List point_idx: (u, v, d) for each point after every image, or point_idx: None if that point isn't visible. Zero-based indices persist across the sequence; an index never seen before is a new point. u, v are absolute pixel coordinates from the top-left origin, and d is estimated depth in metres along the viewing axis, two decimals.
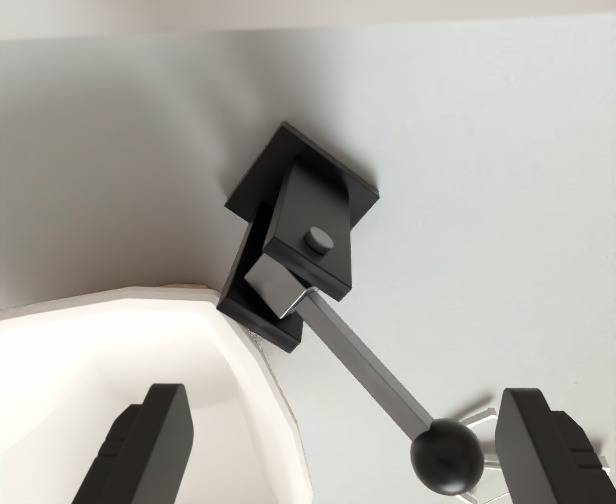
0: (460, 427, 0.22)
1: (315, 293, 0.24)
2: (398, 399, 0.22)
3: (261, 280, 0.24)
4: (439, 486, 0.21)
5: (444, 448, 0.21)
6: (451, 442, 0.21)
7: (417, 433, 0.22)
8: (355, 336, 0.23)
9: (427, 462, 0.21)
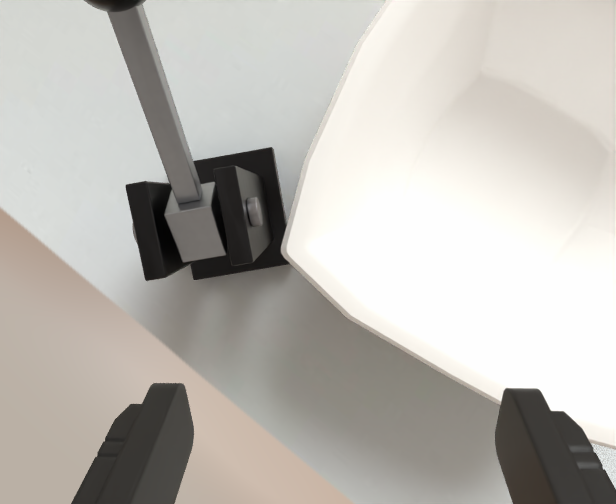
0: None
1: None
2: (128, 62, 0.19)
3: (207, 244, 0.23)
4: None
5: None
6: None
7: (124, 13, 0.18)
8: None
9: None
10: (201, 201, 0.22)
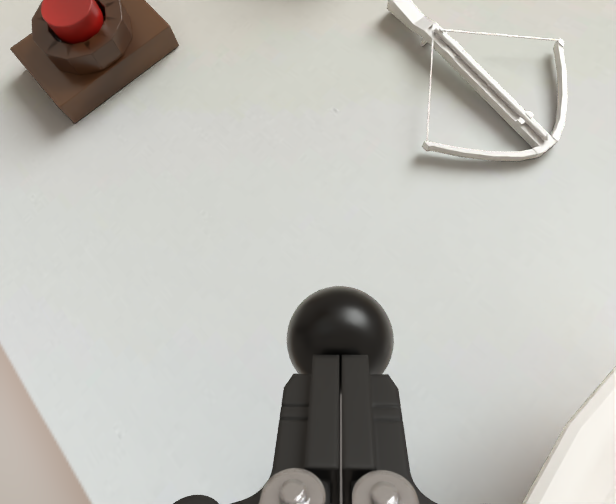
0: (291, 356, 0.15)
1: None
2: None
3: None
4: (355, 346, 0.13)
5: None
6: (299, 370, 0.14)
7: None
8: None
9: None
10: None
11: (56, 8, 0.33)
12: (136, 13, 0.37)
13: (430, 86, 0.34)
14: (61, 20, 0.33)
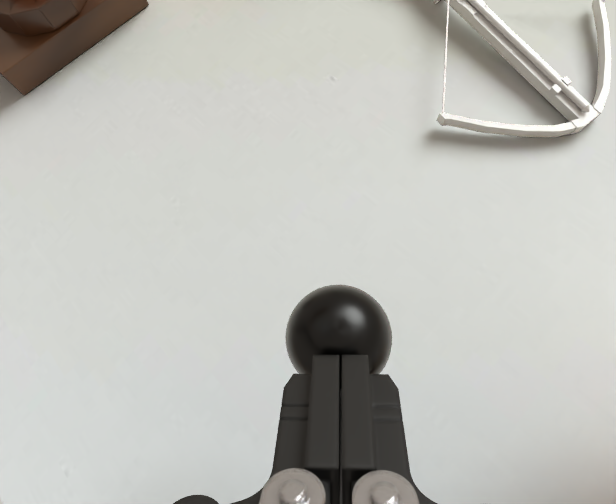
0: (289, 356, 0.15)
1: None
2: None
3: None
4: (353, 315, 0.14)
5: (307, 353, 0.14)
6: (297, 353, 0.14)
7: (340, 391, 0.14)
8: None
9: (341, 354, 0.13)
10: None
11: None
12: None
13: (446, 48, 0.28)
14: None
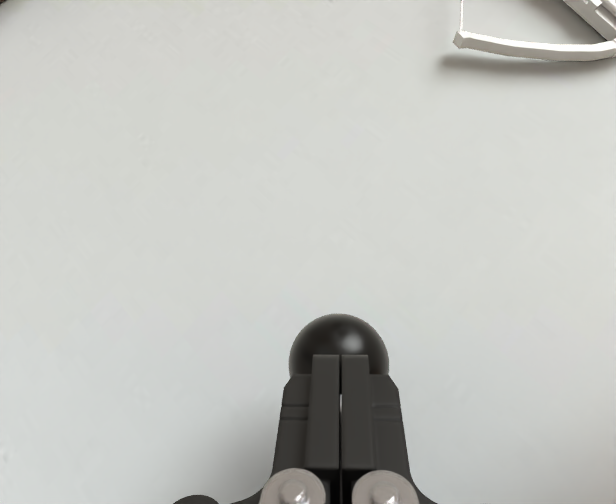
0: None
1: None
2: None
3: None
4: (352, 323, 0.15)
5: (309, 354, 0.15)
6: (299, 359, 0.15)
7: (340, 396, 0.14)
8: None
9: (341, 349, 0.14)
10: None
11: None
12: None
13: None
14: None
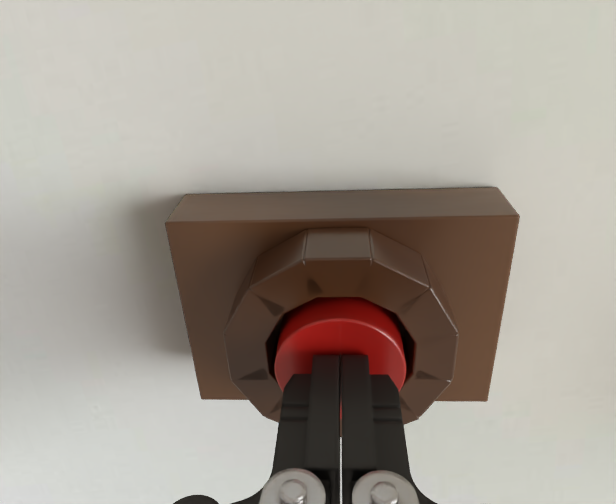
0: None
1: None
2: None
3: None
4: None
5: None
6: None
7: None
8: None
9: None
10: None
11: None
12: (460, 340, 0.16)
13: None
14: None
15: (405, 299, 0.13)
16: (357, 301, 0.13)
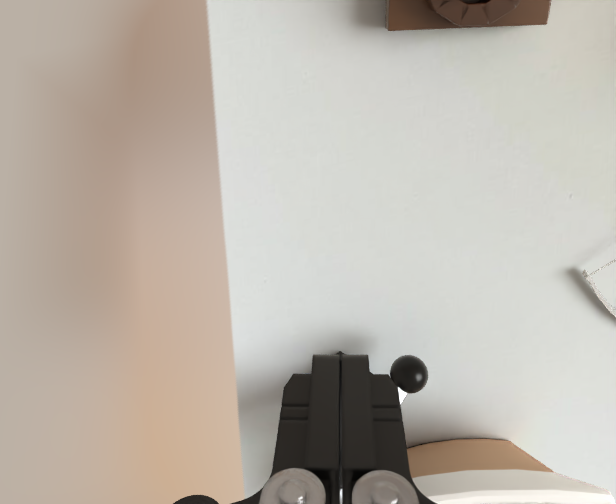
0: (392, 370, 0.42)
1: None
2: None
3: None
4: (424, 376, 0.41)
5: (405, 378, 0.41)
6: (401, 375, 0.41)
7: (402, 391, 0.41)
8: None
9: (414, 385, 0.41)
10: None
11: None
12: None
13: None
14: None
15: None
16: None
